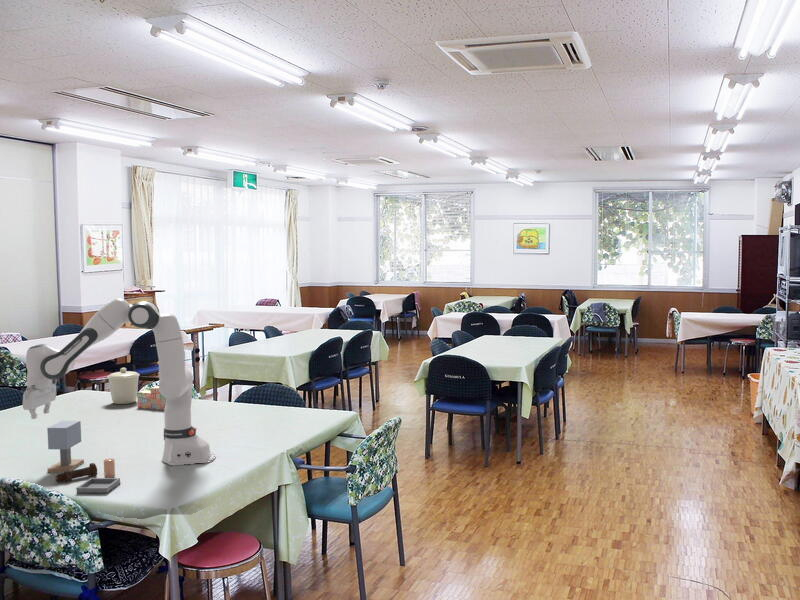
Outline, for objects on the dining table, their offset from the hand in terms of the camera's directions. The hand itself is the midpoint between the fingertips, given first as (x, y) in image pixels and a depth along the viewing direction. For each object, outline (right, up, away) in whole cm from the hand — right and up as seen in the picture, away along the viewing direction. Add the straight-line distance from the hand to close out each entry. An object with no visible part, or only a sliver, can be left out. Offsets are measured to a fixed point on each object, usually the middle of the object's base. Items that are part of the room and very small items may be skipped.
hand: (40, 415), depth 301 cm
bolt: (+21, -24, -14) cm, 35 cm away
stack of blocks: (+10, -14, +113) cm, 114 cm away
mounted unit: (+10, -22, +1) cm, 24 cm away
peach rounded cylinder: (+34, -23, -11) cm, 42 cm away
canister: (-13, -13, +127) cm, 128 cm away
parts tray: (+35, -24, -25) cm, 50 cm away
